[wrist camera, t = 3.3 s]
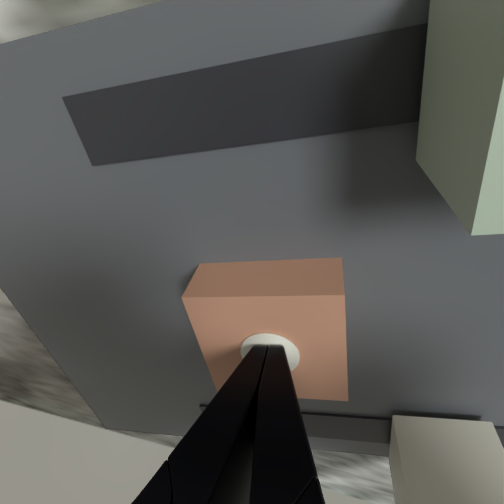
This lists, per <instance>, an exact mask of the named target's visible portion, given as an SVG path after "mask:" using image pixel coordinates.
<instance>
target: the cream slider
mask: <svg viewBox="0 0 504 504" xmlns="http://www.w3.org/2000/svg"><path fill="white" fill-rule="evenodd" d="M389 464H390V470H391V477H392V483H393V490H394V496H395V503H396V504H504V448H503V446H502V444H501V441H500V439H499V437H498V435H497V432H496V430H495V428H494V425H493V423H492V422H486V421H471V420H457V419H443V418H429V417H414V416H400V415H393V416H392V427H391V438H390V449H389Z"/></svg>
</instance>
